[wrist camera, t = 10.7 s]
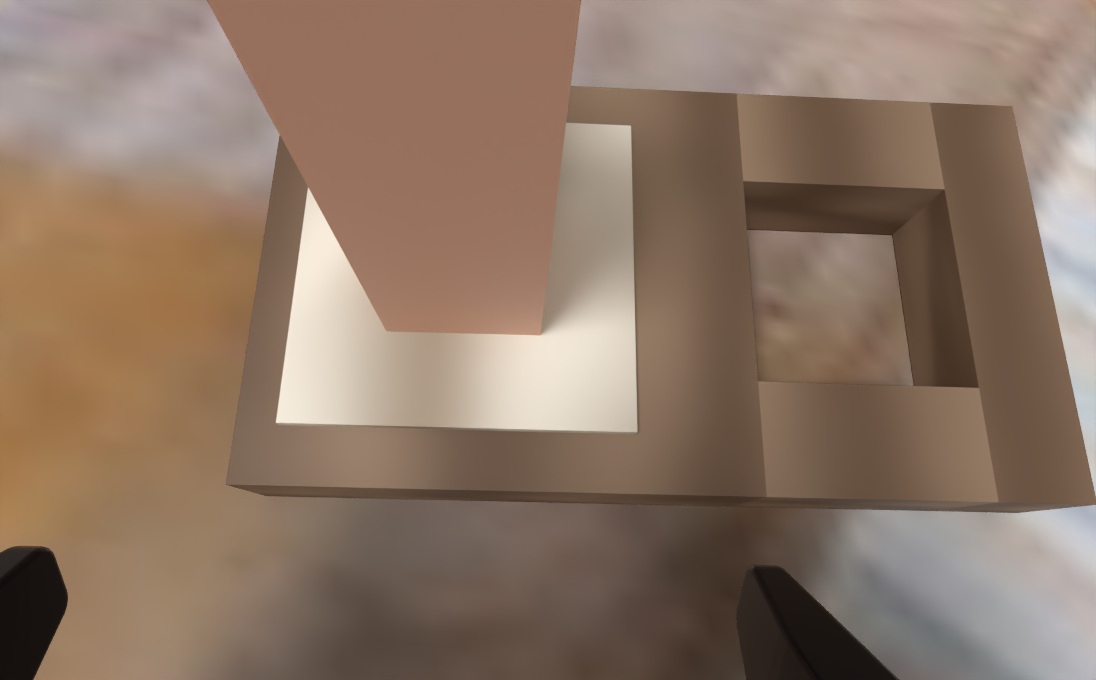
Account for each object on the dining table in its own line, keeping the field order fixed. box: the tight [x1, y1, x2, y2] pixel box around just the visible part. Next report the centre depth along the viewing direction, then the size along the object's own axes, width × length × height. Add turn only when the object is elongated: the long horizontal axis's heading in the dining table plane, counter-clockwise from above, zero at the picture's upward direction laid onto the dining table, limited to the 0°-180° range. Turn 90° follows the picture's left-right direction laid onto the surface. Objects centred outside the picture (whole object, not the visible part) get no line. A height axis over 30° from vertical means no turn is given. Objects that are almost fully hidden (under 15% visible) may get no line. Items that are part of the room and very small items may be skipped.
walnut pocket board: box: [226, 86, 1096, 513], centre depth 21 cm, size 22×12×3 cm, turn 89°
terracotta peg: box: [207, 0, 581, 335], centre depth 13 cm, size 4×4×12 cm
